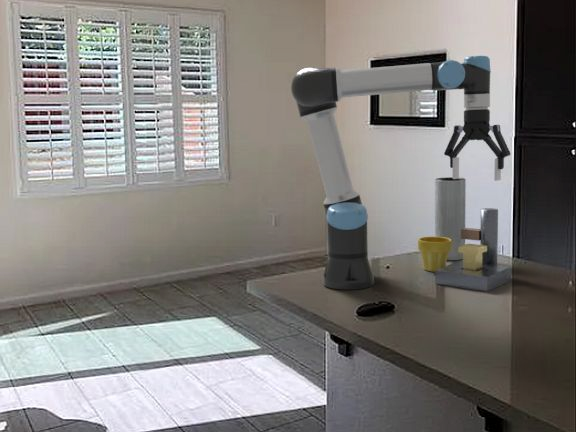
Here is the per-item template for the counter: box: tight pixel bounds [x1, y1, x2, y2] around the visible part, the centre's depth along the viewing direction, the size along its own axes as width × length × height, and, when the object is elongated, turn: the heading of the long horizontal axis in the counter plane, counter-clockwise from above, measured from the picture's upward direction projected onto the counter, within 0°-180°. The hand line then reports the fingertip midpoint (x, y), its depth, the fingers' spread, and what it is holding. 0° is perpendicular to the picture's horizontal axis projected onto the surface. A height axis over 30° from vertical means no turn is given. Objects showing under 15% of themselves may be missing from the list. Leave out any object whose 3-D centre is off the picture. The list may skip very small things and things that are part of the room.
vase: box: [434, 176, 467, 261], centre depth 228 cm, size 10×10×27 cm
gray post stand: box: [434, 207, 512, 292], centre depth 198 cm, size 16×21×20 cm
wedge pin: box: [458, 243, 487, 271], centre depth 196 cm, size 6×6×11 cm
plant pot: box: [417, 236, 451, 272], centre depth 214 cm, size 10×10×10 cm
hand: (476, 179), depth 205 cm, fingers open, 13 cm apart
